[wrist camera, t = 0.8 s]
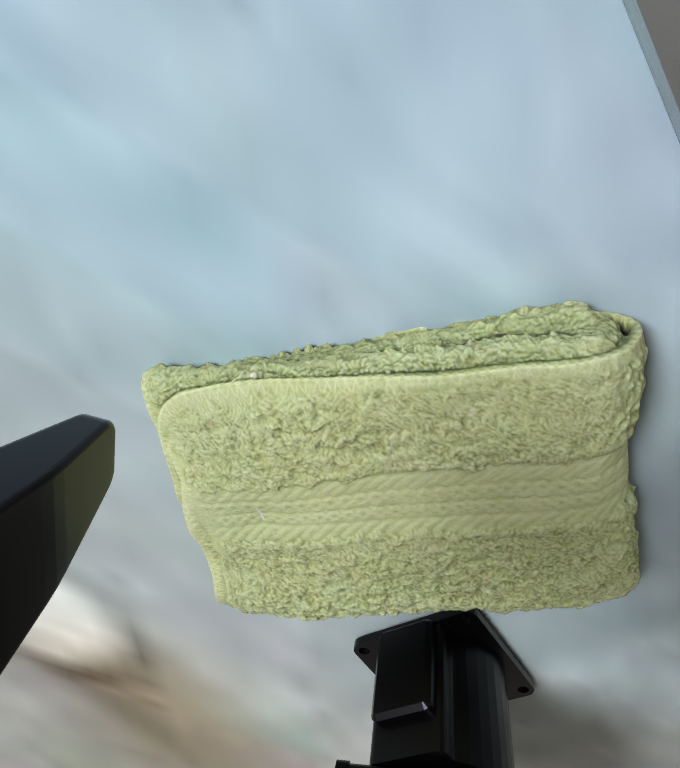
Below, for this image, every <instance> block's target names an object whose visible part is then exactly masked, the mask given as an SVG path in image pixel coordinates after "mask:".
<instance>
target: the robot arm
mask: <svg viewBox="0 0 680 768" xmlns="http://www.w3.org/2000/svg"><path fill="white" fill-rule="evenodd" d="M114 456H115V428H114V424H113V423H112V422H111V421H109V420H106V419H102V418H98V417H94V416H91V415H86V414H81V415H77V416H75V417H72V418H70V419H67V420H65V421H62V422H60V423H58V424H55V425H53V426H50V427H48V428H45V429H43V430H41V431H38V432H36V433H33V434H31V435H28V436H26V437H24V438H21V439H19V440H16V441H14V442H11V443H9V444H6V445H4V446H2V447H0V675H1V673H2V672H3V670H4V669H5V667H6V666H7V664H8V663H9V661H10V659H11V658H12V656H13V655H14V653H15V652H16V650H17V649H18V647H19V646H20V644H21V643H22V641H23V640H24V638H25V637H26V635H27V634H28V632H29V631H30V629H31V628H32V626H33V625H34V623H35V622H36V620H37V619H38V617H39V616H40V614H41V613H42V611H43V610H44V608H45V607H46V605H47V603H48V602H49V600H50V599H51V597H52V595H53V594H54V592H55V591H56V589H57V587H58V586H59V584H60V582H61V580H62V578H63V576H64V574H65V573H66V571H67V569H68V567H69V565H70V563H71V561H72V559H73V557H74V555H75V553H76V551H77V549H78V547H79V545H80V543H81V541H82V539H83V537H84V535H85V533H86V531H87V530H88V528H89V526H90V524H91V522H92V520H93V518H94V516H95V514H96V512H97V510H98V508H99V506H100V504H101V502H102V500H103V498H104V496H105V494H106V492H107V490H108V488H109V486H110V484H111V481H112V478H113V473H114ZM354 652H355V654H356V655H357V656H358V657H359V658H360V659H361V660H362V661H363V662H364V663H365V664H366V665H367V666H368V667H369V669H370V670H371V671H372V672H373V673H374V674H375V684H374V694H373V705H372V715H371V716H372V720H373V721H374V722H373V733H372V744H371V755H370V765H361V764H351V763H350V761H346V760H337V761H336V766H335V768H515V767H514V757H513V747H512V737H511V727H510V717H509V707H508V700H511V699H516V698H520V697H524V696H528V695H531V694H532V693H533V692H534V685H533V681H532V679H531V678H530V676H529V675H528V674H527V672H526V671H525V670H524V669H523V667H522V666H521V665H520V663H519V662H518V661H517V660H516V658H515V657H514V656H513V654H512V653H511V652H510V651H509V649H508V648H507V647H506V645H505V644H504V643H503V642H502V640H501V639H500V638H499V636H498V635H497V634H496V633H495V631H494V630H493V629H492V627H491V626H490V625H489V624H488V622H487V621H486V620H485V618H484V617H483V616H482V615H481V613H480V612H479V611H478V609H476V608H475V609H472V610H468V611H461V610H458V611H456V610H448V611H443V612H439V613H436V614H433V615H430V616H427V617H423V618H420V619H417V620H414V621H411V622H407V623H404V624H401V625H398V626H395V627H391V628H388V629H385V630H382V631H379V632H375V633H372V634H369V635H366V636H363V637H360V638H358V639H356V640H355V645H354Z"/></svg>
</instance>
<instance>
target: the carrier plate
mask: <svg viewBox="0 0 680 768" xmlns="http://www.w3.org/2000/svg"><path fill="white" fill-rule="evenodd" d="M623 2H624V5H625V7H626V10H627V12H628V15H629V17H630V20H631V22H632V25H633V27H634V30H635V32H636V35H637V37H638V40H639V42H640V45H641V47H642V50H643V52H644V55H645V57H646V60H647V62H648V65H649V67H650V70H651V72H652V75H653V77H654V80H655V82H656V85H657V87H658V90H659V92H660V95H661V97H662V100H663V102H664V105H665V107H666V110H667V112H668V115H669V117H670V120H671V122H672V125H673V127H674V130H675V132H676V135H677V137H678V140H679V142H680V0H623Z"/></svg>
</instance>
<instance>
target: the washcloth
mask: <svg viewBox="0 0 680 768" xmlns="http://www.w3.org/2000/svg"><path fill="white" fill-rule="evenodd" d="M647 353H648V348H647V347H646V346H645V339H644V334H643V328H642V325H641V324H640V323H639V322H638V321H636V320H634V319H633V318H632V317H628V316H624V315H621V314H619V313H610V312H599V311H594V310H592V309H591V307H589V306H588V305H587V304H585V303H582V302H578V301H566V302H564V303H563V304H559V303H557V304H553V305H550V306H544V307H539V308H538V307H537V308H535V307H528V306H527V305H526V306H523V307H520V308H518V309H515V310H513V311H510V312H509V313H507V314H501V316H500V317H495V316H487V317H486V318H485V319H481V320H473V321H466V322H457V323H454V324H452V325H449V326H447V327H445V328H438V329H435V330H433V329H428V328H425V327H419V328H415V329H410V330H406V331H400V332H390V333H386V334H384V335H383V336H381V337H376V338H374V339H368V340H367V339H362V340H361V341H358V342H355V343H354V344H353V345H350V344H342V345H337V346H334V347H332V346H331V345H330V344H328V343H327V344H324V345H323V346H319V347H314V348H313V347H312V345H307V346H306V347H305V348H304V351H301V350H300V349H298V348H296V349H295V350H294V351H293V353H291V354H289V353H286V352H284V351H280V352H279V354H278V355H276V356H275V355H271V357H270V358H269V359H268V358H261V357H255V356H254V357H252V358H251V359H250V358H246V357H245V358H244V360H243V361H236V360H231V362H229V364H226V365H220V366H217V365H214V364H211V363H206V364H205V365H204V366H199V367H198V368H195V367H194V366H193V365H190V364H188V365H186V366H178V367H177V366H166V365H164V364H163V363H161V364H158V365H156V366H155V367H152V368H150V369H148V370H147V371H145V372H144V373H143V375H142V381H141V389H142V392H143V396H144V399H145V404H146V406H147V409H148V411H149V415H150V417H151V418H152V420H153V422H154V424H155V426H156V428H157V431H158V434H159V438H160V440H161V445H162V447H163V452H164V454H165V458H166V460H167V462H166V463H167V465H168V467H169V469H170V473H171V478H172V480H173V483H174V487H175V491H176V495H177V497H178V499H179V500H180V502H181V504H182V506H183V513H184V516H185V521H186V524H187V527H188V530H189V532H190V534H191V535H192V536H193V537H194V538H195V540H196V541H197V542H198V543H199V544H200V545H201V547H202V549H203V550H204V553H205V554H206V557H207V560H208V563H209V566H210V569H211V572H212V577H213V583H214V592H215V597H216V600H217V601H218V602H219V603H222V604H225V605H229V606H230V607H232V608H236V609H238V610H241V611H242V612H243V613H249V612H250V613H252V614H259V613H261V614H265V613H266V614H269V615H275V616H281V617H286V618H294V617H299V618H300V619H301V620H302V621H309V620H312V621H314V620H325V619H327V618H329V617H331V618H338V619H340V618H341V617H345V616H350V615H352V616H353V617H354V618H357V617H358V616H360V615H367V616H374V615H382V616H383V615H385V614H386V613H388V614H389V615H390V616H396V615H398V614H399V613H405V612H406V613H409V614H419V613H425V611H431V612H435V613H436V612H439V611H441V610H445V611H448V610H456V611H458V610H461V611H468V610H472V609H475V608H478V609H480V610H484V609H485V610H488V611H491V612H496V613H502V614H508V613H509V612H511V611H514V610H520V611H529V610H531V609H532V610H541V609H544V608H550V609H552V608H573V607H574V606H575V607H576V608H577V609H582V608H584V607H585V606H591V605H592V604H593V603H599V602H600V601H604V600H611V599H613V598H619V597H623V596H626V595H627V594H628V593H629V592H630V591H631V590H632V589H633V588H634V587H635V586H636V585H637V584H638V583H639V580H640V578H641V576H640V573H639V570H640V569H639V561H640V559H639V556H638V554H639V549H638V540H639V533H638V530H636V529H635V525H634V524H635V521H634V520H635V518H634V516H635V514H636V513H637V505H638V502H637V501H636V500H637V499H636V496H635V495H634V489H636V488H637V487H636V486H634V485H632V484H630V483H629V482H628V473H629V465H628V463H629V459H628V439H629V438H630V437H631V436H632V435H633V434H634V427H635V425H636V421H637V420H638V419H639V418H640V417H639V411H640V409H639V408H640V399H641V396H642V394H643V391H644V388H645V385H646V378H645V377H644V367H645V363H646V359H647ZM385 612H386V613H385Z"/></svg>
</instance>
